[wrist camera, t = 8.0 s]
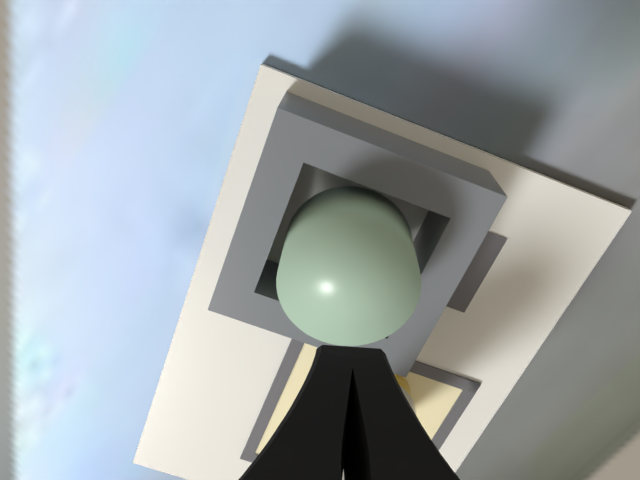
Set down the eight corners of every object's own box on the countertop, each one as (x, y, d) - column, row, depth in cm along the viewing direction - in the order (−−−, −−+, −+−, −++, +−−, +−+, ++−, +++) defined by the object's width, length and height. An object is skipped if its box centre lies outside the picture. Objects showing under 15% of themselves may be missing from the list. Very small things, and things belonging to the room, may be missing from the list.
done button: (381, 315, 19) (386, 363, 17) (269, 275, 19) (257, 319, 16) (433, 212, 17) (446, 250, 15) (311, 167, 17) (305, 198, 15)
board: (404, 540, 26) (405, 548, 26) (135, 457, 25) (131, 465, 25) (627, 208, 19) (633, 212, 19) (262, 63, 18) (260, 65, 17)
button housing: (400, 336, 21) (405, 377, 19) (222, 274, 20) (207, 309, 18) (488, 170, 18) (507, 197, 16) (286, 91, 18) (277, 108, 15)
